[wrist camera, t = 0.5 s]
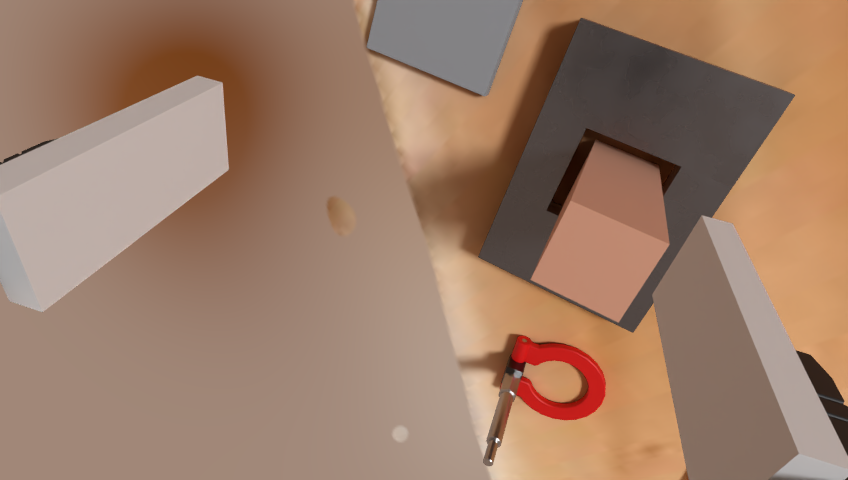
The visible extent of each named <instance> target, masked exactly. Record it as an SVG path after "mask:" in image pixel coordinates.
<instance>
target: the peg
mask: <svg viewBox="0 0 848 480" xmlns="http://www.w3.org/2000/svg"><path fill="white" fill-rule="evenodd" d="M669 245H670V243H669V236H668V228H667V221H666V214H665V207H664V199H663V192H662V185H661V177H660V170H659V165H657V164H654V163H652V162H649V161H647V160H644V159H642V158H640V157H637V156H635V155H632V154H630V153H627V152H625V151H623V150H620V149H618V148H615V147H613V146H610V145H608V144H606V143H603V142H601V141H598V140H595V142H594V144H593V146H592V148H591V150H590V152H589V154H588V156H587V158H586V160H585V162H584V164H583V166H582V168H581V170H580V172H579V174H578V176H577V178H576V180H575V182H574V184H573V186H572V188H571V190H570V192H569V194H568V196H567V198H566V200H565V203H564V205H563V207H562V210H561V212H560V214H559V216H558V219H557V221H556V223H555V225H554V228H553V230H552V232H551V234H550V237H549V239H548V241H547V243H546V246H545V248H544V250H543V253H542V255H541V257H540V259H539V262H538V264H537V266H536V268H535V271H534V273H533V275H532V277H531V280H532V281H534V282H536V283H538V284H540V285H542V286H544V287H546V288H548V289H550V290H552V291H554V292H556V293H559V294H561V295H563V296H565V297H567V298H569V299H571V300H573V301H575V302H577V303H579V304H581V305H583V306H585V307H587V308H589V309H591V310H593V311H596V312H598V313H600V314H602V315H604V316H606V317H608V318H610V319H612V320H614V321H616V322H618V323H619V321H620V320H621V318H622V317H623V315H624V313H625V312H626V310H627V309H628V307H629V306H630V304H631V303H632V301H633V300H634V298H635V297H636V295H637V294H638V292H639V291H640V289H641V287H642V286H643V284H644V283H645V281H646V280H647V278H648V277H649V275H650V274H651V272H652V271H653V269H654V268H655V266H656V265H657V263H658V261H659V260H660V258H661V257H662V255H663V254H664V252H665V251H666V249H667V248H668V246H669Z"/></svg>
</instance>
